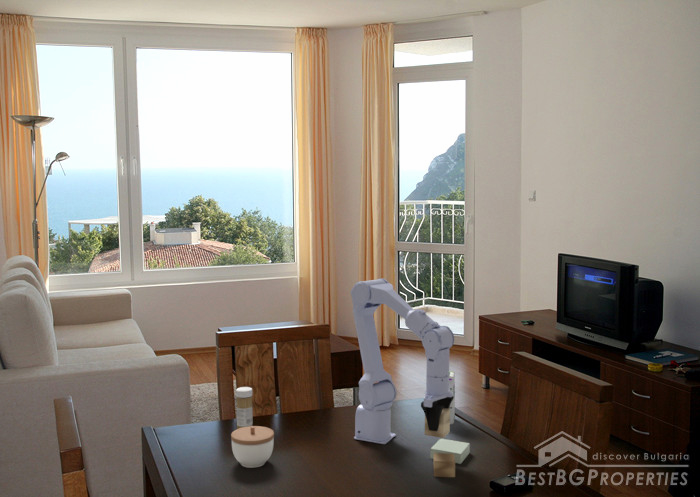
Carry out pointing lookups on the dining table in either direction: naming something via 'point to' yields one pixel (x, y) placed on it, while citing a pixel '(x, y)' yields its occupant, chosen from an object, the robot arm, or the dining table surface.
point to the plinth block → (451, 449)
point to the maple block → (440, 425)
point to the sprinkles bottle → (244, 407)
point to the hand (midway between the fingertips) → (437, 427)
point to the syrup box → (452, 390)
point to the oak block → (444, 465)
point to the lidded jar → (252, 445)
